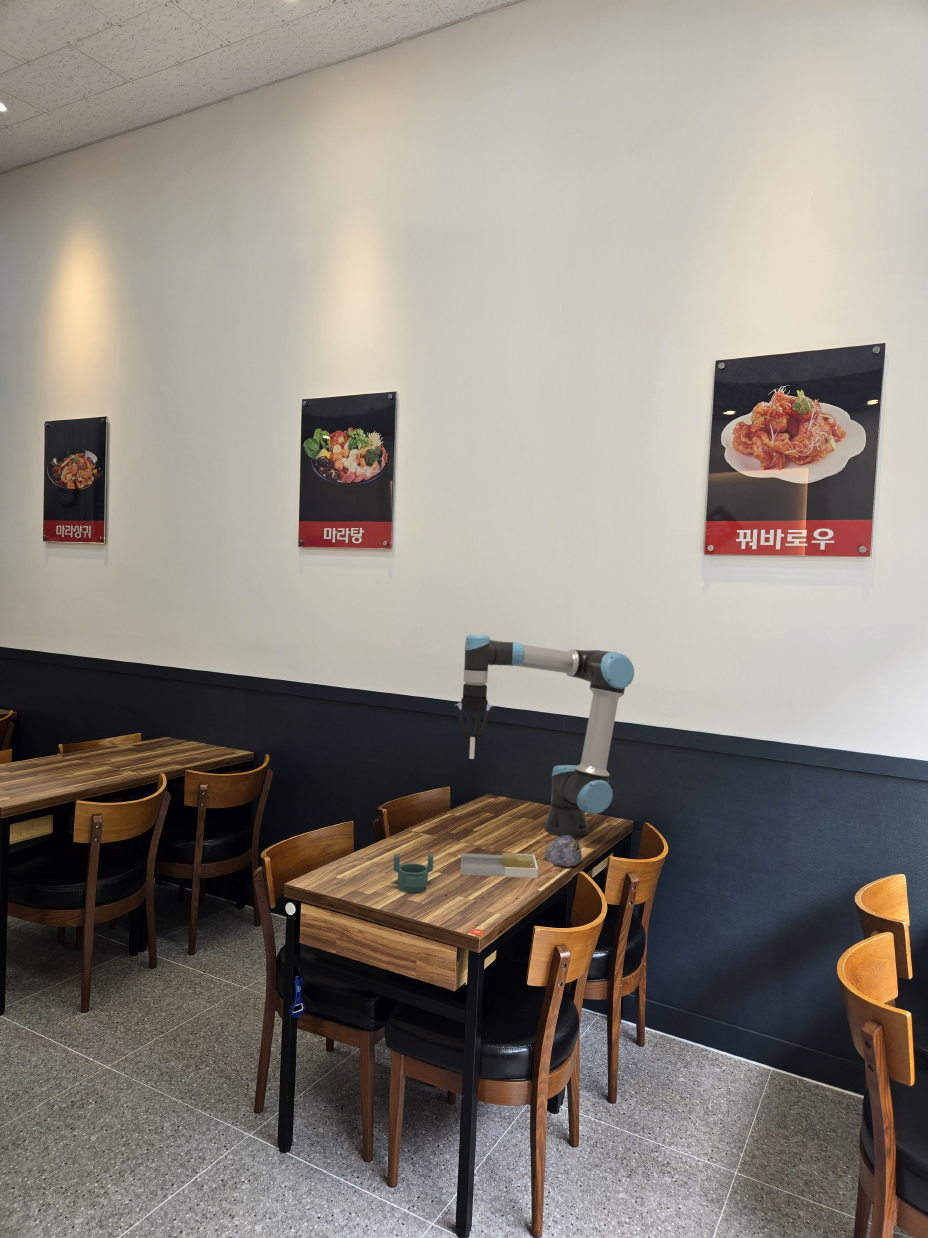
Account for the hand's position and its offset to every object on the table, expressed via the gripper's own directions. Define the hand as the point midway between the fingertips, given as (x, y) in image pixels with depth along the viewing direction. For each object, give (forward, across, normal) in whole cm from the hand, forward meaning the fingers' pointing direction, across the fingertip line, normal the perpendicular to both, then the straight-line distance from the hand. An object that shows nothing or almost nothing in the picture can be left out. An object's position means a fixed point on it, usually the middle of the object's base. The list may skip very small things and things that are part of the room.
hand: (471, 758), depth 247 cm
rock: (+30, -29, +8) cm, 42 cm away
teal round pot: (+30, +15, +35) cm, 48 cm away
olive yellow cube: (+28, -12, +19) cm, 36 cm away
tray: (+29, -15, +19) cm, 38 cm away
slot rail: (+29, -4, +19) cm, 35 cm away
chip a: (+29, -16, +19) cm, 38 cm away
